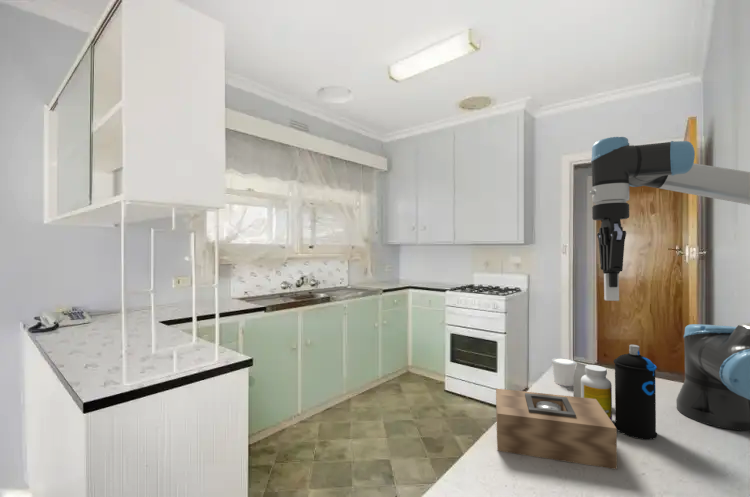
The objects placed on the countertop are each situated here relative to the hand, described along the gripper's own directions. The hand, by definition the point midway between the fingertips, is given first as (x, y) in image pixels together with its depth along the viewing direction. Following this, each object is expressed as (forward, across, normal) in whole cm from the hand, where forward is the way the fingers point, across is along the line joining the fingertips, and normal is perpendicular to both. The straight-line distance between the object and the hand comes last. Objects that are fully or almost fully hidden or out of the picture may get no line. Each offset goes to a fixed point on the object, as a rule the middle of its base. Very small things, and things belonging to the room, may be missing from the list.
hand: (611, 300), depth 87 cm
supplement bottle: (+31, -2, -3) cm, 31 cm away
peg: (+30, +13, -16) cm, 37 cm away
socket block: (+30, +13, -16) cm, 37 cm away
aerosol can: (+31, +2, +4) cm, 31 cm away
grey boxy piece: (+31, -13, -2) cm, 33 cm away
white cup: (+31, -26, -6) cm, 41 cm away
